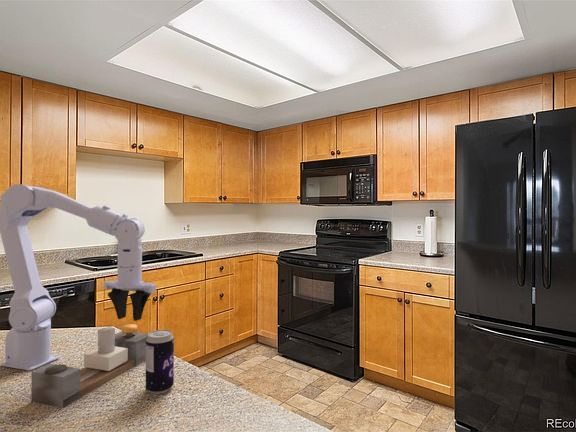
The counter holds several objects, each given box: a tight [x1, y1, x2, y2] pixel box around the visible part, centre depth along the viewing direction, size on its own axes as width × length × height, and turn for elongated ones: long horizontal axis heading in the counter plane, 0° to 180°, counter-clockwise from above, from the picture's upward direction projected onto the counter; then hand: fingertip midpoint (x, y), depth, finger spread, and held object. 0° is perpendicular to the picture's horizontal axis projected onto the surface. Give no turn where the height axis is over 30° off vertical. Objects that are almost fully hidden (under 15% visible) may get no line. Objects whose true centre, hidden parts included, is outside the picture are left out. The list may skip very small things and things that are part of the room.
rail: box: [30, 330, 149, 409], centre depth 83 cm, size 9×26×6 cm, turn 164°
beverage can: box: [145, 329, 175, 395], centre depth 77 cm, size 6×6×12 cm
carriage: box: [83, 327, 128, 371], centre depth 85 cm, size 7×6×8 cm
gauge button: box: [121, 323, 138, 338], centre depth 93 cm, size 4×4×3 cm
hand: (129, 318), depth 93 cm, fingers open, 4 cm apart
